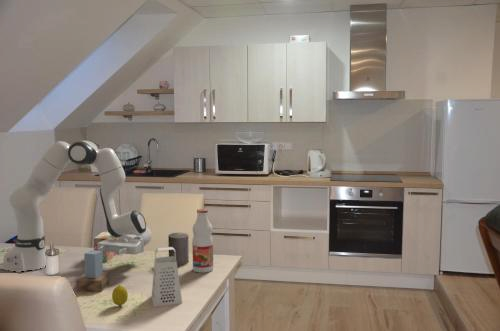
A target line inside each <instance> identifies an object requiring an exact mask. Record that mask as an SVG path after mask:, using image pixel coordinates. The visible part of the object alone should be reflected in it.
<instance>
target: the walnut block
mask: <svg viewBox="0 0 500 331" xmlns="http://www.w3.org/2000/svg"><path fill="white" fill-rule="evenodd" d="M109 274H110V273H109V272H108V271H105V272H104V271H103V275H101V276H100V277H98V278H86V277H85V272H84V273H82V274H81V275H80V277H78V279H76V292H77V293H95V292H96V293H97V292H98V293H99V292H100V293H102V292H103V291H104V290H105V288H106V287H107V286H108V285H109V284H110V279H109V278H110V276H109Z"/></svg>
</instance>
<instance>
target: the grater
mask: <svg viewBox="0 0 500 331" xmlns="http://www.w3.org/2000/svg"><path fill="white" fill-rule="evenodd" d="M169 250H174V251H175V249H174V248H173V247H169V246H168V247H166V246H165V247H157V248H156V249H155V250H154V254H155V255H154V256H155V257H154V262H153V275H152V285H151V286H152V287H151V300H152V305H153V307H161V306H162V307H163V306H171V305H180V304H183V299H182V298H183V297H182V292H181V284H180V277H179V270H178V269H179V268H178V266H177V261H176V251H175V257H174V256H171V257H169V256H161V257H157V253H158V252H160V251H161V252H162V251H169ZM161 298H162V299H161ZM164 298H165V299H164ZM163 301H164V302H163ZM166 301H167V302H166Z"/></svg>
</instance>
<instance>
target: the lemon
mask: <svg viewBox="0 0 500 331" xmlns="http://www.w3.org/2000/svg"><path fill="white" fill-rule="evenodd" d="M111 294H112V295H111V299H112V302H113V304H115V305H117V306H118V307H122V306H123V305H124V304H125V303H127V300H128V297H129V293H128V291H127V289H126V287H125V286H123V285H119V284H118V286H116V287H115V288H113V290H112V293H111Z"/></svg>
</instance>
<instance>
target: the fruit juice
mask: <svg viewBox="0 0 500 331" xmlns="http://www.w3.org/2000/svg"><path fill="white" fill-rule="evenodd" d="M208 211H209V210H208V209H207V208H198V209H196V215H197V216H196V220H195V222H194V223H193V225H192V228H191V229H192V234H193V236H192V243H191V244H192V269H193V272H196V273H200V274H201V273H203V274H204V273H209V272H211V271H213V270H214V239H213V236H212V234H213V229H214V228H213V225H212V223H211V222H210V220H209V217H208Z"/></svg>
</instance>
